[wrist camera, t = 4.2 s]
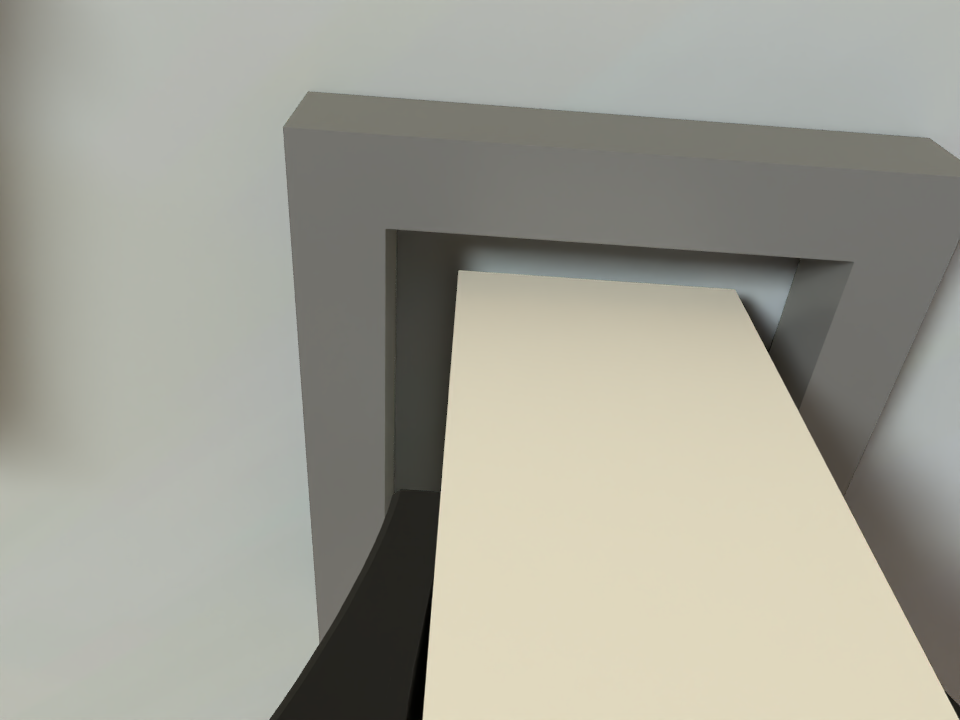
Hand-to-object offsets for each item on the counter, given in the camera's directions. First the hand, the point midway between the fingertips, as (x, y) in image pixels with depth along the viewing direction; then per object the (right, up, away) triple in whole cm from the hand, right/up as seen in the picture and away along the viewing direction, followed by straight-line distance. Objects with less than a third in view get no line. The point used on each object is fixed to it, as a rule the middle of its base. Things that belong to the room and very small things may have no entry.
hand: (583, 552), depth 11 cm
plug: (0, +1, +2) cm, 2 cm away
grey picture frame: (0, +2, +2) cm, 3 cm away
